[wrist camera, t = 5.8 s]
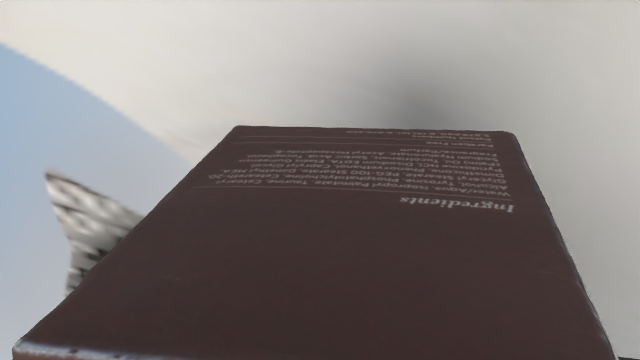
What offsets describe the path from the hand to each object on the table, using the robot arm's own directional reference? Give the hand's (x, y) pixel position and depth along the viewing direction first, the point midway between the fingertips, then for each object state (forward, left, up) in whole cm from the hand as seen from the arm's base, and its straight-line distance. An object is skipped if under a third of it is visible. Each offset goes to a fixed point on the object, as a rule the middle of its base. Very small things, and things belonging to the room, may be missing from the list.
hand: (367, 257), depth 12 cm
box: (0, 0, -1) cm, 1 cm away
